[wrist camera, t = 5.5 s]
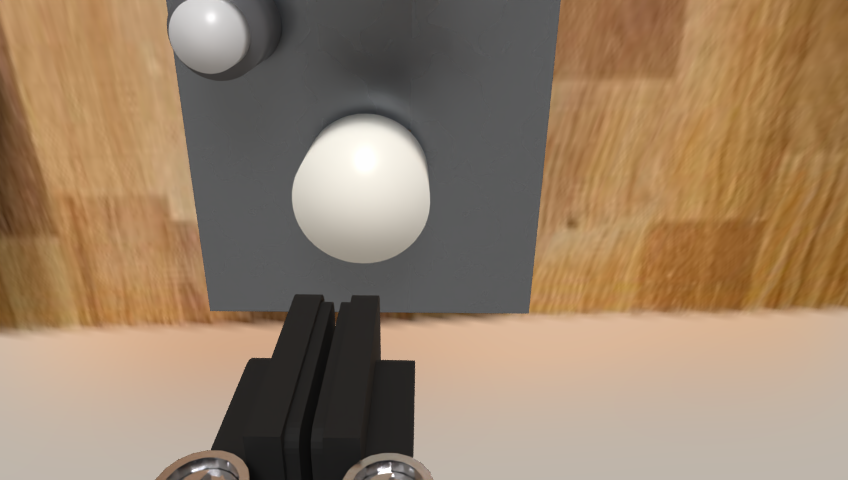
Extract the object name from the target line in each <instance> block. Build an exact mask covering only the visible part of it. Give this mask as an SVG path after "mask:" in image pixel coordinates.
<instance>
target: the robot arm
mask: <svg viewBox="0 0 848 480" xmlns="http://www.w3.org/2000/svg"><path fill="white" fill-rule="evenodd" d="M380 347H381V345H380V297H379V295H352V297H351V302H341V305H340V309H339V313H338V318H337V322H336V326H335V309H334V303H333V302H325V299H324V296H323V295H321V294H295V296H294V298H293V300H292V303H291V306H290V309H289V311H288V314H287V317H286V320H285V322H284V325H283V328H282V330H281V333H280V336H279V339H278V342H277V344H276V347H275V350H274V353H273V355H272V358H251V359H250V360H249V361H248V363H247V365H246V367H245V370H244V372H243V374H242V377H241V379H240V382H239V384H238V386H237V388H236V391H235V393H234V396H233V398H232V400H231V403H230V405H229V408H228V410H227V412H226V415H225V417H224V420H223V422H222V425H221V427H220V429H219V431H218V434H217V436H216V439H215V441H214V443H213V446H212V448H211V450H207V451H202V452H197V453H193V454H191V455H188V456H186V457H183V458H181V459H178V460H177V461H176V462H174V463H173V464H171V465H170V466H168V467H167V468H166V469H165V470H164V471H163V472H162V473H161V474H160V475H159V476H158V477H157V478H156V480H433V478H432V476H431V473H430V472H429V470H428V469H427V468H426V467H425V466H424V465H423V464H422V463H421V462H419V461H417V460H415V459H413V445H414V395H415V389H414V388H415V387H414V386H415V361H407V360H381V348H380Z"/></svg>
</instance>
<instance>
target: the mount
mask: <svg viewBox="0 0 848 480" xmlns="http://www.w3.org/2000/svg"><path fill="white" fill-rule="evenodd" d="M173 1H174V0H166V2H167V9H168V13H169V10H170V7H171V5H172V3H173ZM273 1H274V3H275V4H276V6H277V9H278V11H279V14H280V18H281V37H280V40H279V43H278V46H277V47H276V49H275V51H274V52H273V53H272V54H271V55H270V56H269V57H268V58H267V59H266V60H264V61H263V62H261V63H260V64H259V65H257V66H256V67H254V68H253V69H251V70H250V71H249V72H247V73H246V74H244V75H243V76H241V77H239V78H236V79H233V80H228V81H215V80H210V79H207V78H204V77H201V76H199V75H197V74H196V73H194V72H192V71H191V70H190V69H189V68H187V67H186V66H185V65H184V64H183V63H182V62H181V61H180V59H179V58H178V57H177V55H176V53H175V52H174V58H175V66H176V73H177V80H178V87H179V94H180V101H181V108H182V115H183V122H184V129H185V136H186V143H187V150H188V157H189V164H190V171H191V178H192V185H193V192H194V199H195V206H196V213H197V220H198V227H199V234H200V241H201V248H202V256H203V263H204V270H205V277H206V284H207V291H208V298H209V305H210V311H281V312H288V311H289V309H290V306H291V303H292V300H293V298H294V296H295V294H321V295H323V296H324V299H325V302H333V303H334V309H335V312H339V309H340V305H341V302H351V297H352V295H379V297H380V312H408V313H529V305H530V295H531V285H532V276H533V266H534V256H535V246H536V236H537V227H538V217H539V207H540V197H541V187H542V178H543V168H544V158H545V148H546V139H547V129H548V119H549V109H550V99H551V90H552V80H553V70H554V60H555V50H556V41H557V31H558V21H559V11H560V1H561V0H273ZM173 51H174V50H173ZM365 113H366V114H376V115H381V116H384V117H387V118H390V119H392V120H394V121H396V122H398V123H399V124H401V125H402V126H404V127H405V128H406V129H407V130H411V133H412V134H413V136H414V137H415V138H416V139H417V141H418V142H419V144H420V145H421V147H422V149H423V151H424V154H425V157H426V160H427V165H428V177H429V191H430V209H429V214H428V219H427V221H426V224H425V226H424V228H423V230H422V232H421V234H420V235H419V236H418V238H417V239H416V240H415V241H414V242H413V243H412V244H411V245H410V246H409V247H408V248H407V249H406V250H404V251H403V252H401V253H400V254H398V255H396V256H394V257H392V258H390V259H387V260H383V261H380V262H374V263H352V262H347V261H343V260H340V259H337V258H335V257H332V256H330V255H328V254H327V253H325V252H323V251H322V250H320V249H319V248H318V247H316V246H315V245H314V244H313V243H312V242H311V241H310V240H309V239H308V238H307V237H306V235H305V234H304V233H303V231H302V229H301V228H300V226H299V224H298V222H297V220H296V217H295V214H294V210H293V204H292V189H293V183H294V179H295V176H296V174H297V172H298V169H299V167H300V165H301V164H302V162H303V160H304V158H305V156H306V154H307V152H308V150H309V149H310V147H311V145H312V143H313V142H314V140H315V138H316V137H317V136H318V135H319V133H320V132H321V131H322V130H323V129H324V128H326V127H327V126H328V125H330V124H331V123H333V122H334V121H336V120H338V119H340V118H343V117H346V116H349V115H354V114H365Z"/></svg>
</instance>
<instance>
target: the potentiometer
mask: <svg viewBox="0 0 848 480" xmlns="http://www.w3.org/2000/svg"><path fill="white" fill-rule="evenodd" d="M167 31H168V36H169V40H170V43H171V46H172V48H173V50H174V52H175V53H176V55H177V57H178V58H179V59H180V61H181V62H182V63H183V64H184V65H185V66H186V67H187V68H189V69H190V70H191V71H192V72H194V73H196V74H197V75H199V76H201V77H204V78H207V79H210V80H215V81H228V80H233V79H236V78H239V77H241V76H243V75H244V74H246V73H247V72H249V71H250V70H251V69H253V68H254V67H256V66H257V65H259V64H260V63H261V62H263V61H264V60H266V59H267V58H268V57H269V56H270V55H271V54H272V53H273V52H274V51H275V49H276V47H277V46H278V43H279V40H280V37H281V18H280V14H279V11H278V9H277V6H276V4H275V3H274V1H273V0H174V1H173V3H172V5H171V7H170V10H169V13H168V18H167Z"/></svg>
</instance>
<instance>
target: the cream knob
mask: <svg viewBox="0 0 848 480" xmlns="http://www.w3.org/2000/svg"><path fill="white" fill-rule="evenodd" d="M292 204H293V210H294V214H295V217H296V220H297V222H298V224H299V226H300V228H301V229H302V231H303V233H304V234H305V235H306V237H307V238H308V239H309V240H310V241H311V242H312V243H313V244H314V245H315V246H316V247H318V248H319V249H320V250H322V251H323V252H325V253H327V254H328V255H330V256H332V257H335V258H337V259H340V260H343V261H347V262H352V263H374V262H380V261H383V260H387V259H390V258H392V257H394V256H396V255H398V254H400V253H401V252H403V251H404V250H406V249H407V248H408V247H409V246H410V245H411V244H412V243H413V242H414V241H415V240H416V239H417V238H418V236H419V235H420V234H421V232H422V230H423V228H424V226H425V224H426V221H427V219H428V214H429V209H430V191H429V177H428V165H427V160H426V157H425V154H424V151H423V149H422V147H421V145H420V144H419V142H418V141H417V139H416V138H415V137H414V136H413V134H412V133H411V132H410V131H409V130H407V129H406V128H405V127H404V126H402V125H401V124H399V123H398V122H396V121H394V120H392V119H390V118H387V117H384V116H381V115H376V114H366V113H365V114H354V115H349V116H346V117H343V118H340V119H338V120H336V121H334V122H333V123H331V124H330V125H328V126H327V127H326V128H324V129H323V130H322V131H321V132H320V133H319V135H318V136H317V137H316V138H315V140H314V142H313V143H312V145H311V147H310V149H309V150H308V152H307V154H306V156H305V158H304V160H303V162H302V164H301V165H300V167H299V169H298V172H297V174H296V176H295V179H294V183H293V189H292Z"/></svg>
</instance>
